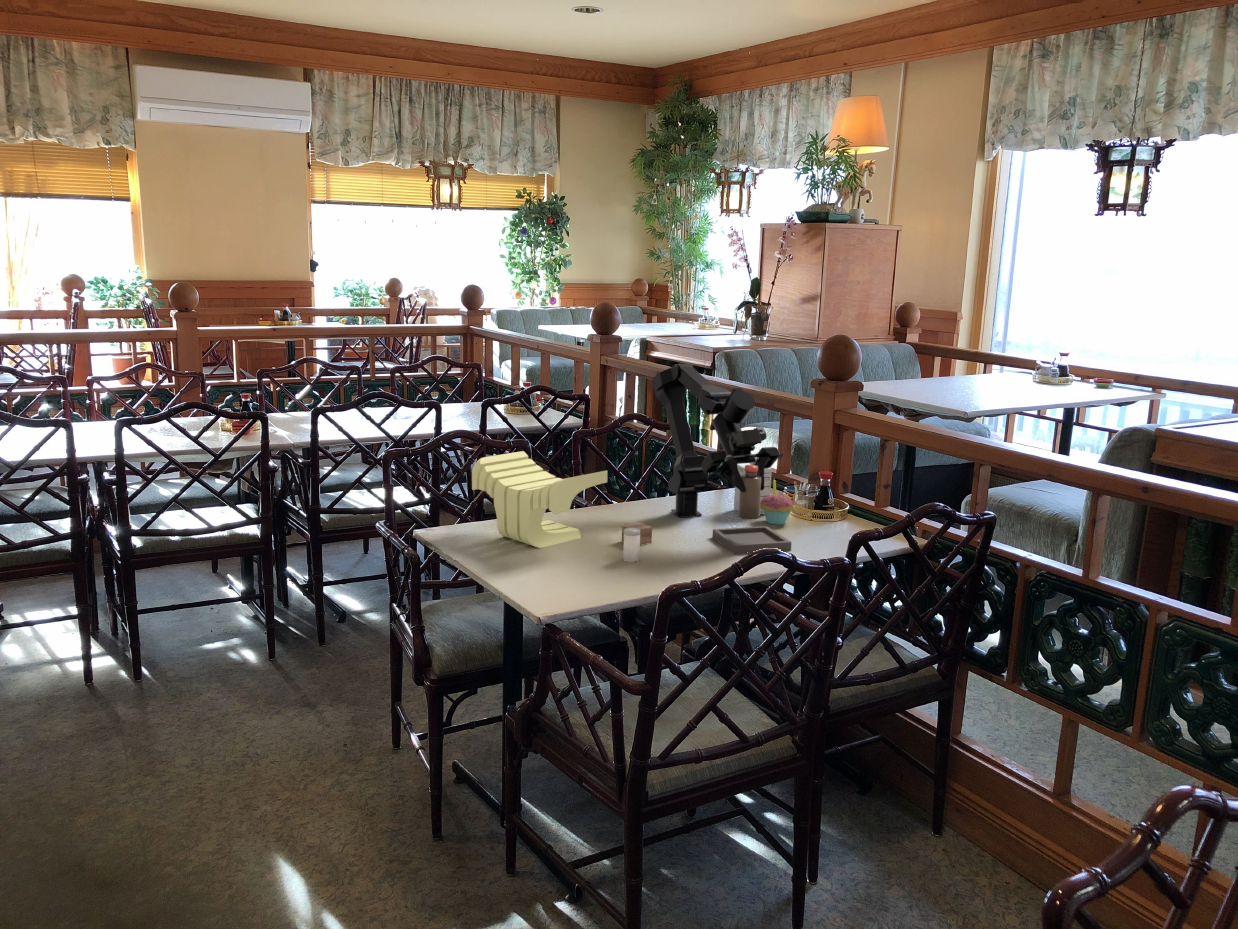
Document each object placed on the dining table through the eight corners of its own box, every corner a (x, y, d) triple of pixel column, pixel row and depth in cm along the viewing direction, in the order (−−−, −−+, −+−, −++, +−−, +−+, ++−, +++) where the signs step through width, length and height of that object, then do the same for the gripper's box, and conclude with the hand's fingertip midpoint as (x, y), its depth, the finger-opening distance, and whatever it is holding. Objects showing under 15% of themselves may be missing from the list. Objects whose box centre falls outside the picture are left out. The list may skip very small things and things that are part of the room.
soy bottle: (734, 516, 226) (736, 466, 224) (746, 512, 230) (749, 463, 227) (751, 520, 223) (753, 469, 220) (763, 516, 226) (766, 466, 224)
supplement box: (733, 509, 260) (734, 463, 257) (758, 507, 262) (760, 461, 260) (744, 516, 253) (746, 468, 251) (770, 514, 255) (772, 467, 253)
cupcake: (782, 528, 242) (785, 481, 240) (752, 522, 247) (754, 476, 245) (798, 521, 249) (801, 475, 246) (769, 515, 254) (771, 471, 251)
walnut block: (621, 541, 228) (622, 525, 228) (638, 538, 231) (638, 522, 231) (634, 546, 225) (635, 530, 224) (651, 543, 227) (651, 527, 227)
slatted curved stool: (472, 531, 235) (471, 459, 231) (523, 520, 246) (523, 451, 242) (554, 559, 214) (554, 480, 210) (606, 545, 225) (607, 470, 221)
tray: (712, 537, 233) (712, 529, 232) (766, 533, 237) (766, 526, 236) (734, 554, 220) (734, 545, 219) (791, 550, 223) (791, 542, 223)
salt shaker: (621, 557, 216) (622, 528, 214) (636, 556, 217) (637, 527, 215) (625, 562, 212) (626, 532, 211) (641, 561, 213) (642, 531, 212)
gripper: (709, 417, 221) (733, 474, 213) (778, 413, 229) (803, 468, 221) (691, 444, 229) (713, 500, 222) (757, 439, 237) (781, 494, 230)
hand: (753, 490), depth 224 cm, fingers closed on soy bottle, 5 cm apart
